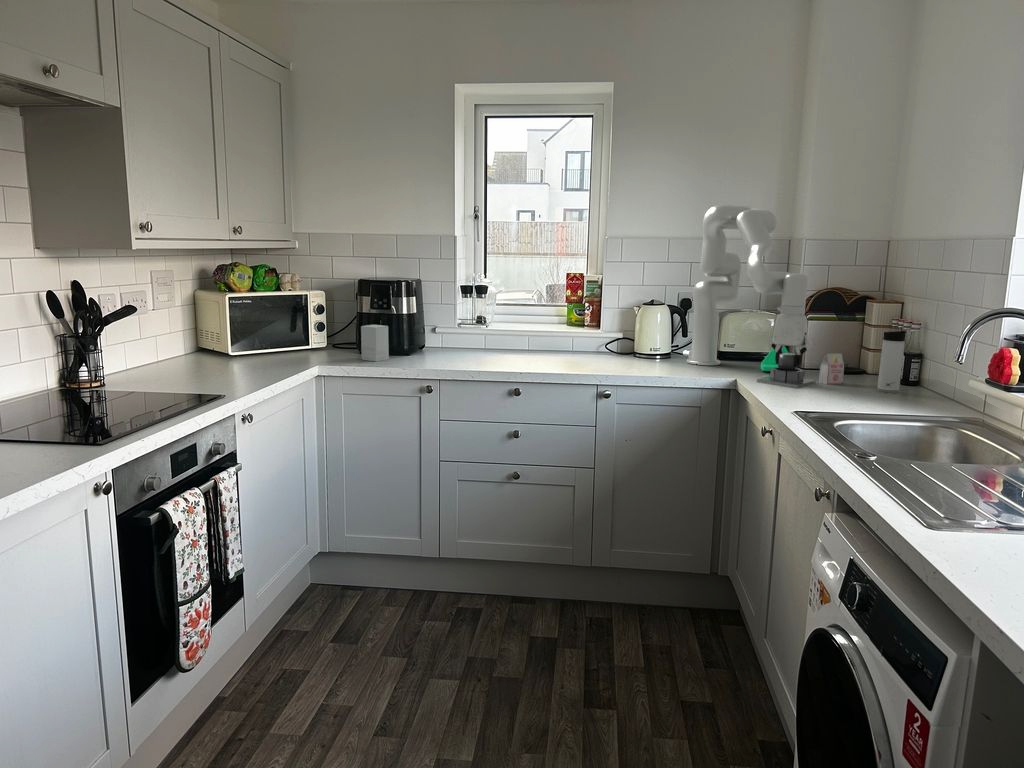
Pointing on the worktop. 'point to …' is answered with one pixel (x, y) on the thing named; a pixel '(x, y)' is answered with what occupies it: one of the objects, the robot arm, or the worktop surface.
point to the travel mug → (891, 362)
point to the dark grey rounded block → (786, 360)
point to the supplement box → (374, 342)
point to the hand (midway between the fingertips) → (787, 364)
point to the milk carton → (831, 369)
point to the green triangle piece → (771, 360)
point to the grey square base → (787, 377)
